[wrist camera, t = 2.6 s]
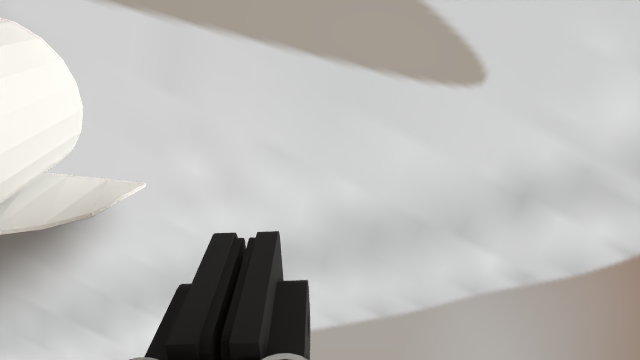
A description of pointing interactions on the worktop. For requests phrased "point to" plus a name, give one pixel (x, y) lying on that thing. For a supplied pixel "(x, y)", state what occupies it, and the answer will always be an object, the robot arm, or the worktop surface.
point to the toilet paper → (42, 139)
